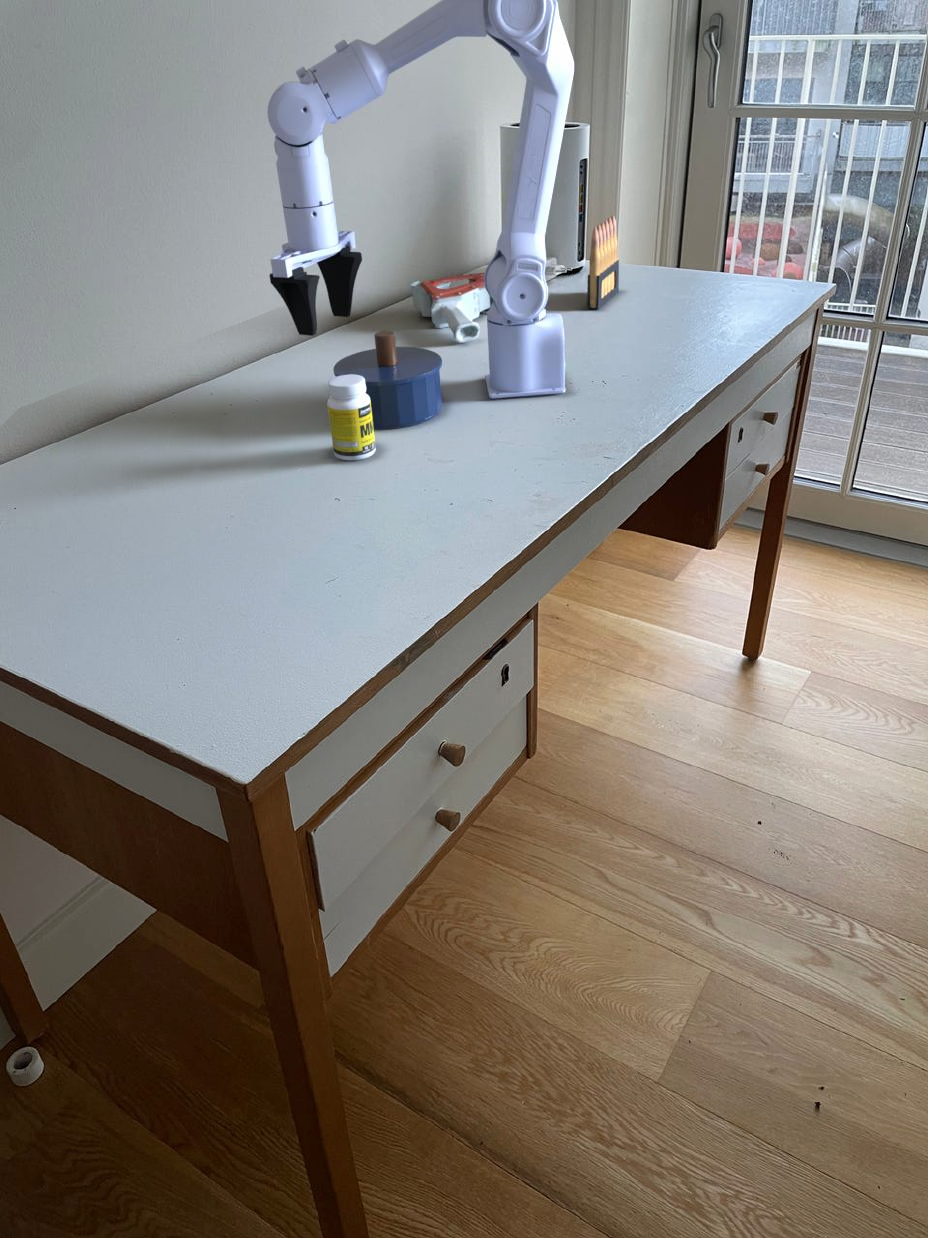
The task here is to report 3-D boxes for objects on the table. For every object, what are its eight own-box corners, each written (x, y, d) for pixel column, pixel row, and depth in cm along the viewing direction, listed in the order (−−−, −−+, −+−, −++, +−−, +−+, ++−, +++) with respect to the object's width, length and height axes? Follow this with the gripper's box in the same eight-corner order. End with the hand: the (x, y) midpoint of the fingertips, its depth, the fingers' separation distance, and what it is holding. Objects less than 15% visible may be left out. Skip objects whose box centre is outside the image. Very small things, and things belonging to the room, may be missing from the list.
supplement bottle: (369, 462, 107) (360, 388, 102) (328, 461, 108) (317, 387, 103) (381, 445, 111) (373, 372, 106) (341, 444, 112) (331, 372, 107)
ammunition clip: (598, 310, 151) (599, 228, 145) (586, 309, 152) (587, 227, 145) (618, 291, 159) (620, 213, 153) (607, 291, 160) (609, 213, 153)
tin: (440, 389, 125) (437, 348, 122) (443, 425, 115) (440, 380, 112) (345, 397, 125) (340, 355, 122) (340, 432, 115) (333, 388, 112)
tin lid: (441, 351, 123) (438, 313, 120) (444, 386, 112) (441, 345, 109) (337, 359, 123) (332, 321, 120) (331, 395, 112) (325, 354, 109)
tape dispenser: (468, 357, 140) (535, 311, 153) (466, 321, 137) (534, 277, 150) (369, 338, 148) (441, 296, 161) (365, 303, 145) (439, 263, 158)
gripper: (313, 191, 117) (329, 306, 124) (240, 215, 106) (262, 340, 113) (364, 191, 114) (377, 309, 121) (294, 217, 103) (313, 344, 110)
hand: (325, 324), depth 117 cm, fingers open, 7 cm apart
